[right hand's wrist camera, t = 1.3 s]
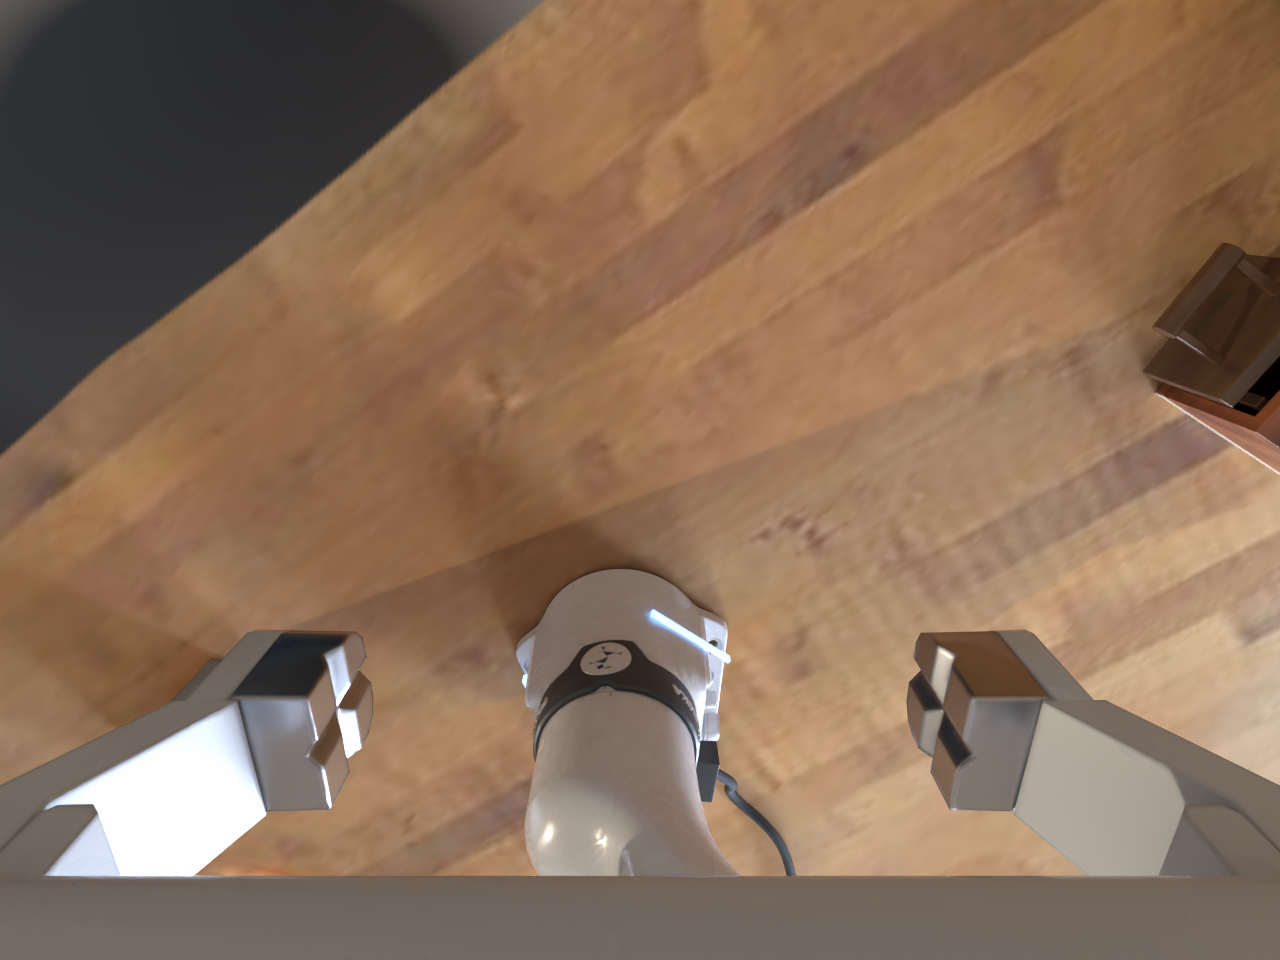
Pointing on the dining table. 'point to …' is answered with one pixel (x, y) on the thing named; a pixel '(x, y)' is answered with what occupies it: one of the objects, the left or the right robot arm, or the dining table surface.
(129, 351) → the dining table surface
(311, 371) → the dining table surface
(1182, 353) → the drawer
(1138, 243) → the dining table surface
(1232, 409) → the cabinet
